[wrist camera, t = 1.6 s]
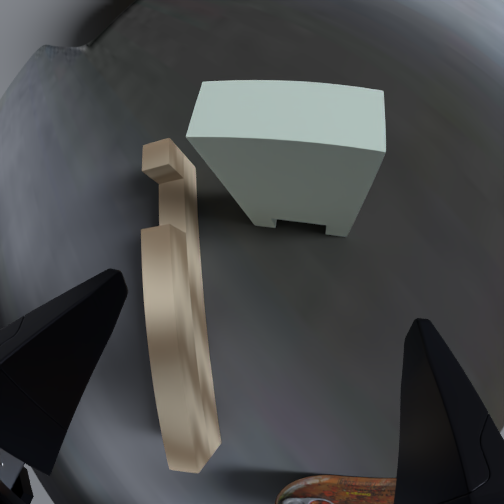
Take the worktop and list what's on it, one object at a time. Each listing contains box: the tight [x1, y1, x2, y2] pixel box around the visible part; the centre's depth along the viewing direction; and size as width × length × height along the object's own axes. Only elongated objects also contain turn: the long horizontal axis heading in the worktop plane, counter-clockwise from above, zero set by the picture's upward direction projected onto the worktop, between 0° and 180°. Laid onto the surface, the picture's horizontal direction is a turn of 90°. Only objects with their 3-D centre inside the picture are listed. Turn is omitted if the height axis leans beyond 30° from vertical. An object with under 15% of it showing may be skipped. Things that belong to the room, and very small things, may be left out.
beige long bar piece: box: [141, 138, 221, 473], centre depth 19 cm, size 22×2×5 cm, turn 6°
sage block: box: [186, 80, 386, 237], centre depth 15 cm, size 2×6×12 cm, turn 80°
